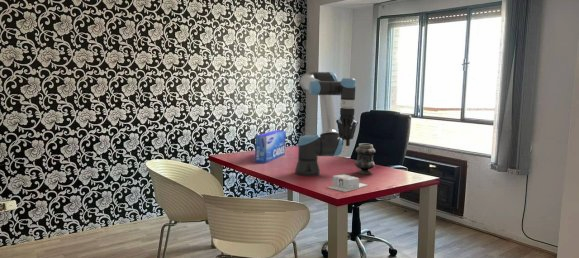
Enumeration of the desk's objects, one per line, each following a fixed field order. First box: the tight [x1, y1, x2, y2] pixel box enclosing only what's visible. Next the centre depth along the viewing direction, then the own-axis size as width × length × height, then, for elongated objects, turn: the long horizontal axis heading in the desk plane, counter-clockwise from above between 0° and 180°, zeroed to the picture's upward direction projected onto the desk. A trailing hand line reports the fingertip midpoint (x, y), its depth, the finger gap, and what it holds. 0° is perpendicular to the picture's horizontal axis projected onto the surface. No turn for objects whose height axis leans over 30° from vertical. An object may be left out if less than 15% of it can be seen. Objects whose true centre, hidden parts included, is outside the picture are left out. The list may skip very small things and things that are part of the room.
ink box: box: [332, 173, 360, 189], centre depth 234 cm, size 8×5×12 cm
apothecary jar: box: [354, 142, 376, 176], centre depth 269 cm, size 12×12×18 cm
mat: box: [327, 182, 368, 193], centre depth 234 cm, size 11×20×1 cm, turn 136°
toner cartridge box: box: [254, 129, 287, 164], centre depth 313 cm, size 39×8×18 cm, turn 161°
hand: (345, 151), depth 234 cm, fingers closed
